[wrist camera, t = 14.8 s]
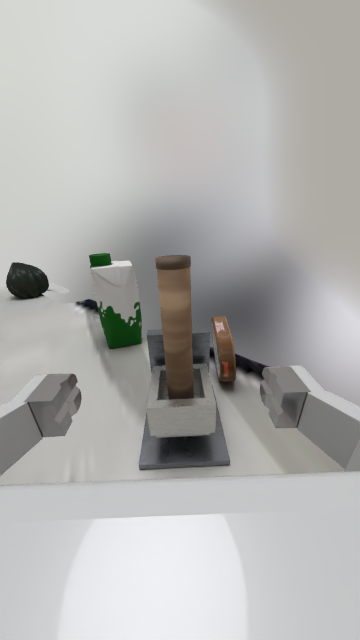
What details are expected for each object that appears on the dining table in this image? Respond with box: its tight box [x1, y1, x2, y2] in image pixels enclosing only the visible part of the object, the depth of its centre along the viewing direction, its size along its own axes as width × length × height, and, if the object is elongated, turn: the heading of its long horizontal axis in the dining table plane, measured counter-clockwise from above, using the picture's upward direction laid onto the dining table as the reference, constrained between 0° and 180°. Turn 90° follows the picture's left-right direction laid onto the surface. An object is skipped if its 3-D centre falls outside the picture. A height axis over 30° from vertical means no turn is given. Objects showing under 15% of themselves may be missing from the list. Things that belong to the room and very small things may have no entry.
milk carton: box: [89, 253, 142, 349], centre depth 47 cm, size 9×9×20 cm
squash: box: [6, 263, 49, 298], centre depth 89 cm, size 14×15×15 cm
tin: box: [212, 316, 236, 382], centre depth 39 cm, size 15×3×8 cm, turn 176°
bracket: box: [139, 327, 230, 469], centre depth 27 cm, size 12×10×12 cm
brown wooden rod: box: [155, 255, 194, 400], centre depth 22 cm, size 3×3×18 cm
